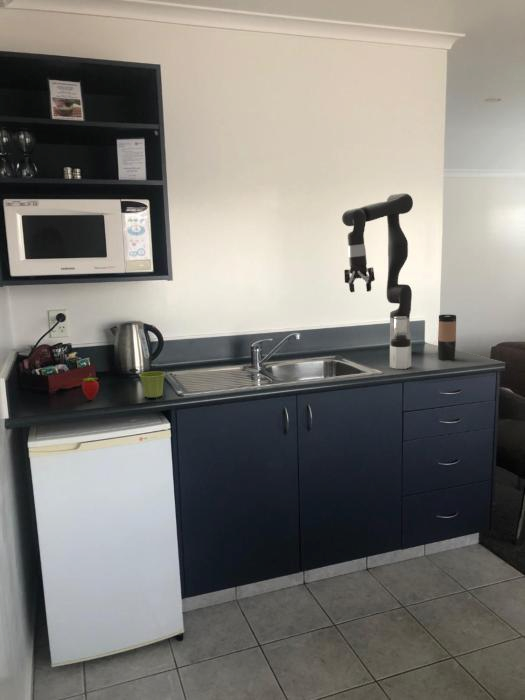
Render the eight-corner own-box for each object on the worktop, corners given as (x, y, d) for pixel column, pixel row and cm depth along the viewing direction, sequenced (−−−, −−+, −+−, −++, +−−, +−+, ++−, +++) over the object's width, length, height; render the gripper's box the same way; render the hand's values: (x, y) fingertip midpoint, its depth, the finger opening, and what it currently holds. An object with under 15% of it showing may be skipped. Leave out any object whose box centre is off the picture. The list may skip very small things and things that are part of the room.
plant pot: (142, 394, 209) (141, 371, 207) (168, 393, 209) (166, 370, 208) (138, 401, 199) (137, 377, 198) (165, 399, 200) (164, 376, 198)
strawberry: (99, 397, 207) (97, 370, 205) (100, 402, 200) (98, 374, 198) (82, 399, 205) (80, 372, 203) (83, 404, 198) (80, 376, 196)
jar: (386, 366, 244) (386, 339, 242) (401, 364, 247) (401, 337, 245) (398, 370, 236) (399, 341, 234) (414, 368, 239) (415, 340, 237)
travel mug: (457, 358, 256) (458, 314, 253) (452, 361, 250) (454, 316, 247) (440, 357, 261) (441, 314, 257) (435, 360, 254) (436, 316, 251)
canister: (401, 338, 243) (401, 315, 242) (409, 340, 238) (409, 316, 237) (391, 339, 241) (391, 316, 240) (399, 341, 236) (399, 317, 235)
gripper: (375, 253, 246) (378, 290, 249) (348, 255, 256) (352, 291, 259) (366, 254, 241) (369, 292, 244) (339, 257, 251) (342, 293, 254)
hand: (360, 291), depth 251 cm, fingers open, 8 cm apart
